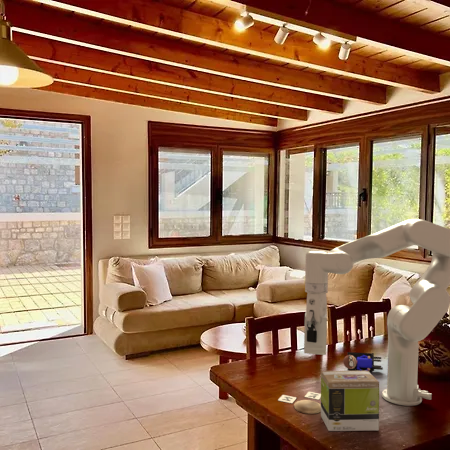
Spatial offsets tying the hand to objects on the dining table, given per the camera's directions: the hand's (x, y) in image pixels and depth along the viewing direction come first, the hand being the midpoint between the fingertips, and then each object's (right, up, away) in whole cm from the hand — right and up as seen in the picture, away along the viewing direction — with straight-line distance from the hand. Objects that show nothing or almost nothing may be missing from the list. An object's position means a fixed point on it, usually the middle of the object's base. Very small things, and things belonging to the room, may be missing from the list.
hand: (315, 338), depth 162 cm
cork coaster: (-4, -20, -8) cm, 22 cm away
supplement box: (0, -5, 0) cm, 5 cm away
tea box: (+6, -21, -19) cm, 29 cm away
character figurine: (+23, -19, +26) cm, 40 cm away
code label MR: (-10, -20, -2) cm, 22 cm away
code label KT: (0, -20, +1) cm, 20 cm away
